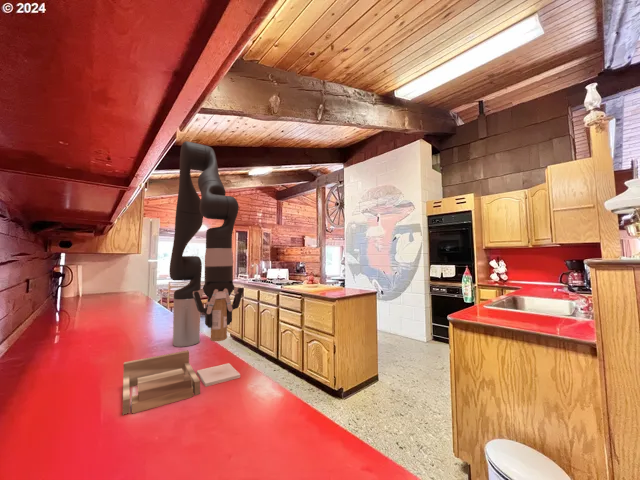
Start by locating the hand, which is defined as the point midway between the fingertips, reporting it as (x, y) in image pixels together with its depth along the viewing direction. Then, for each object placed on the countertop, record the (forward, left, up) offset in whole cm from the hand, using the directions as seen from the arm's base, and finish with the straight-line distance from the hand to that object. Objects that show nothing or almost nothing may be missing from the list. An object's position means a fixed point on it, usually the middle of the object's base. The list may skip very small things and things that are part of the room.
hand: (218, 325), depth 78 cm
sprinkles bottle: (0, 0, -4) cm, 4 cm away
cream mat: (0, 0, -14) cm, 14 cm away
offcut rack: (0, -14, -14) cm, 20 cm away
